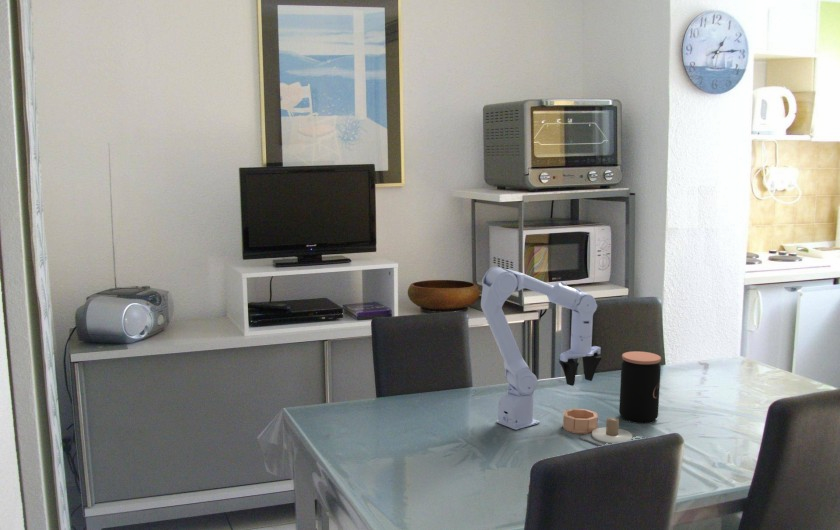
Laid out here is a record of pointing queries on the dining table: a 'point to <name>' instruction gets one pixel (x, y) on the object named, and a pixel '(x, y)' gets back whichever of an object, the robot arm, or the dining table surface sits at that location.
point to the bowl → (580, 421)
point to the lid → (611, 432)
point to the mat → (590, 439)
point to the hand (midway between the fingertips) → (579, 382)
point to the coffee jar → (640, 387)
